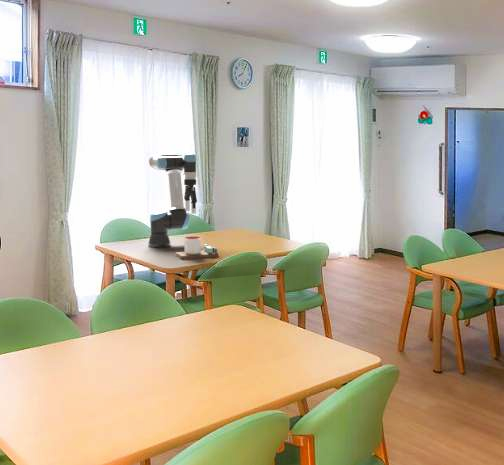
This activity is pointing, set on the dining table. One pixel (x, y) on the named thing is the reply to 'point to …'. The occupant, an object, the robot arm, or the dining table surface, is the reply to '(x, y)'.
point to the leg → (208, 248)
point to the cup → (192, 245)
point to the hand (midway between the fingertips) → (190, 212)
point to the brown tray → (201, 255)
